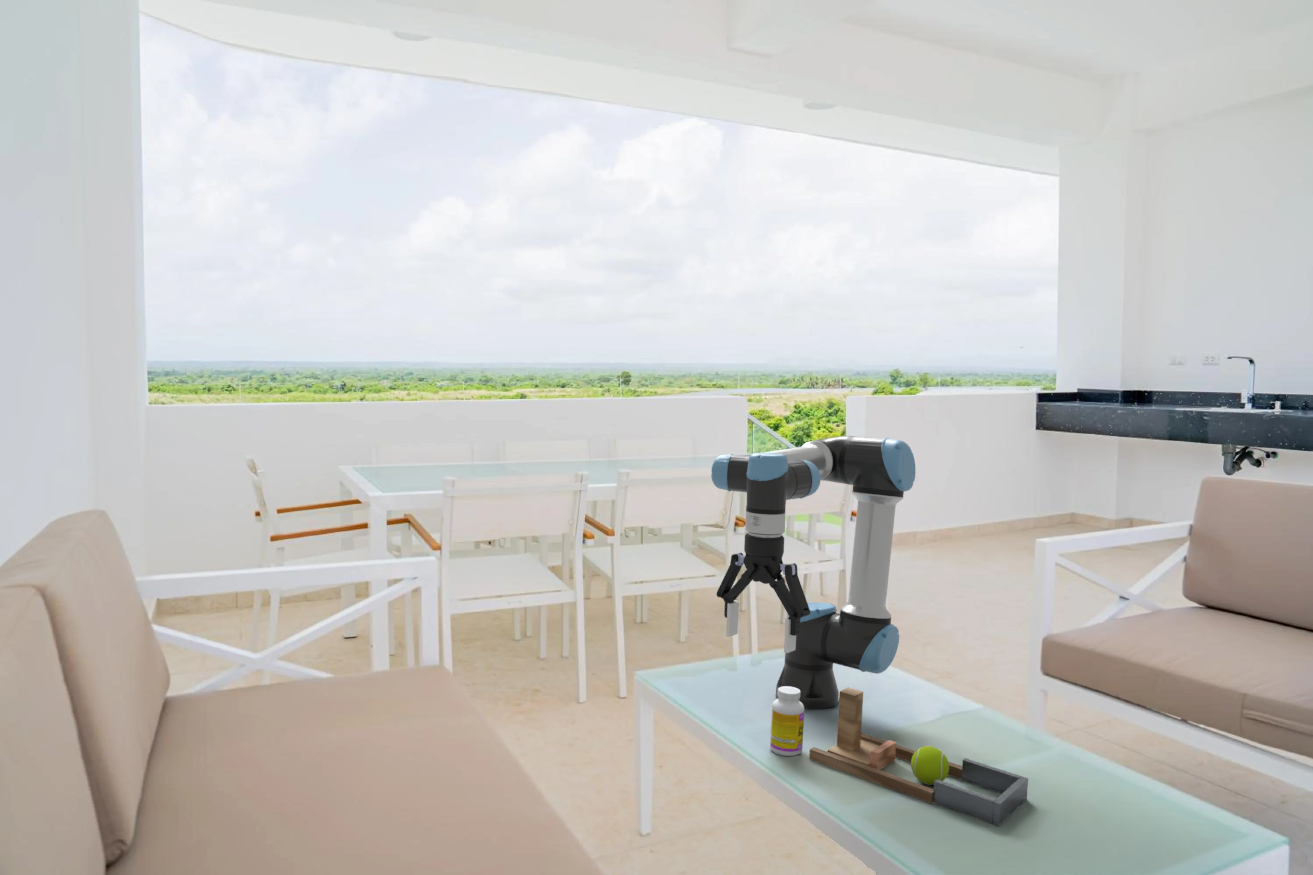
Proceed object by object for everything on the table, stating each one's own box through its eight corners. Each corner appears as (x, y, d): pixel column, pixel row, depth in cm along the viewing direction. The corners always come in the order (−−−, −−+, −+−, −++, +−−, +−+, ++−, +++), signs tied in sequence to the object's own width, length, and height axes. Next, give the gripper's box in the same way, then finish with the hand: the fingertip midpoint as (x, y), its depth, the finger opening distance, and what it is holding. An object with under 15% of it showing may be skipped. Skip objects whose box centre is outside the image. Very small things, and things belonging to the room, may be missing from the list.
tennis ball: (949, 779, 168) (951, 744, 168) (945, 794, 162) (947, 758, 162) (912, 771, 171) (915, 737, 171) (907, 785, 165) (909, 750, 165)
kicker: (851, 743, 183) (854, 683, 183) (897, 758, 176) (900, 696, 176) (827, 756, 176) (830, 694, 175) (874, 773, 169) (877, 708, 168)
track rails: (847, 737, 187) (847, 728, 187) (965, 776, 170) (965, 766, 170) (809, 758, 175) (809, 749, 175) (931, 803, 158) (932, 792, 158)
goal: (963, 777, 169) (965, 757, 169) (1026, 798, 161) (1028, 778, 161) (932, 802, 159) (934, 781, 158) (998, 826, 151) (1000, 803, 150)
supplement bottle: (801, 758, 175) (804, 697, 174) (768, 754, 176) (771, 693, 176) (802, 745, 182) (805, 686, 181) (771, 742, 183) (774, 682, 182)
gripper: (701, 526, 170) (697, 632, 171) (810, 546, 153) (804, 662, 155) (725, 522, 176) (721, 625, 177) (832, 541, 159) (826, 654, 160)
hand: (760, 642), depth 166 cm, fingers open, 13 cm apart
